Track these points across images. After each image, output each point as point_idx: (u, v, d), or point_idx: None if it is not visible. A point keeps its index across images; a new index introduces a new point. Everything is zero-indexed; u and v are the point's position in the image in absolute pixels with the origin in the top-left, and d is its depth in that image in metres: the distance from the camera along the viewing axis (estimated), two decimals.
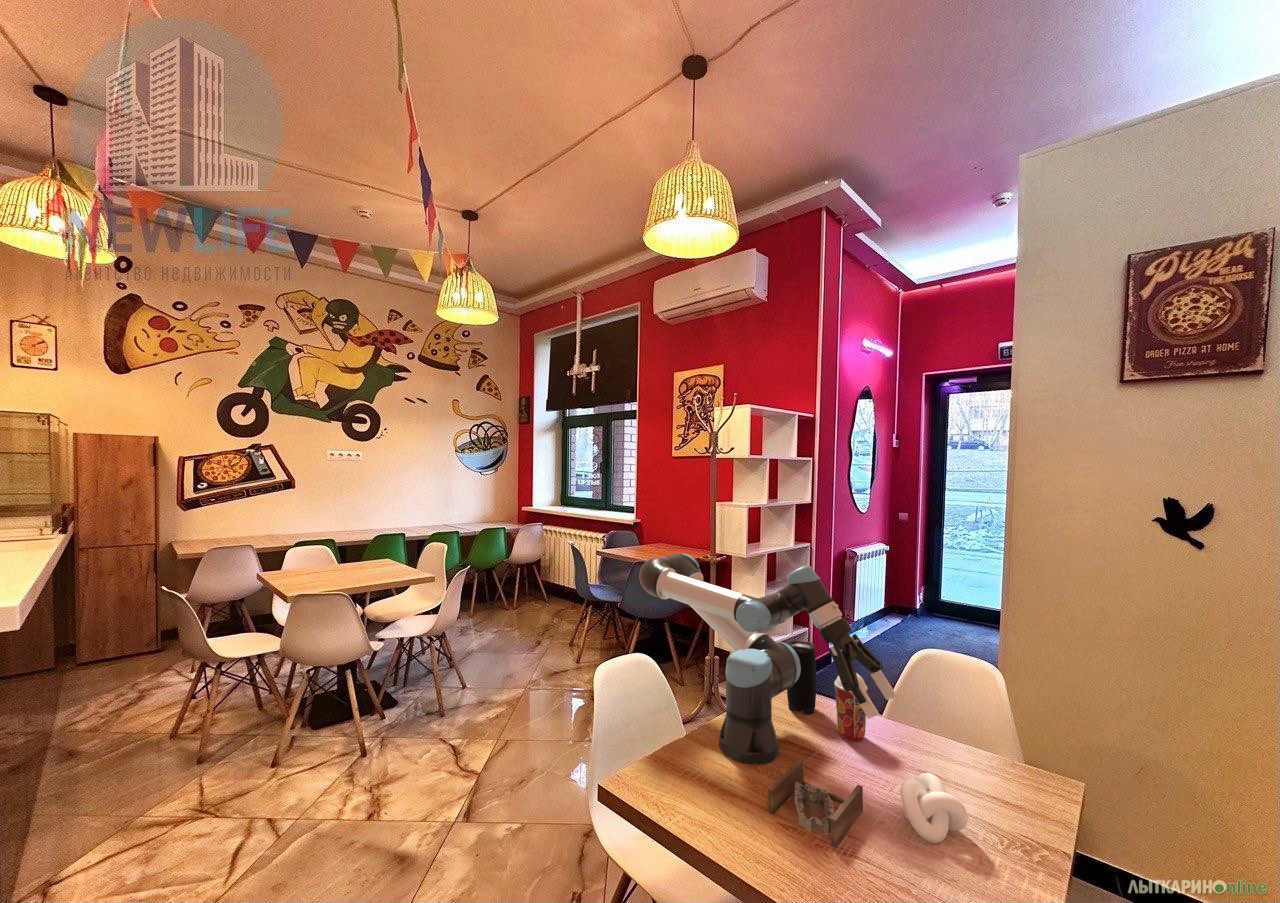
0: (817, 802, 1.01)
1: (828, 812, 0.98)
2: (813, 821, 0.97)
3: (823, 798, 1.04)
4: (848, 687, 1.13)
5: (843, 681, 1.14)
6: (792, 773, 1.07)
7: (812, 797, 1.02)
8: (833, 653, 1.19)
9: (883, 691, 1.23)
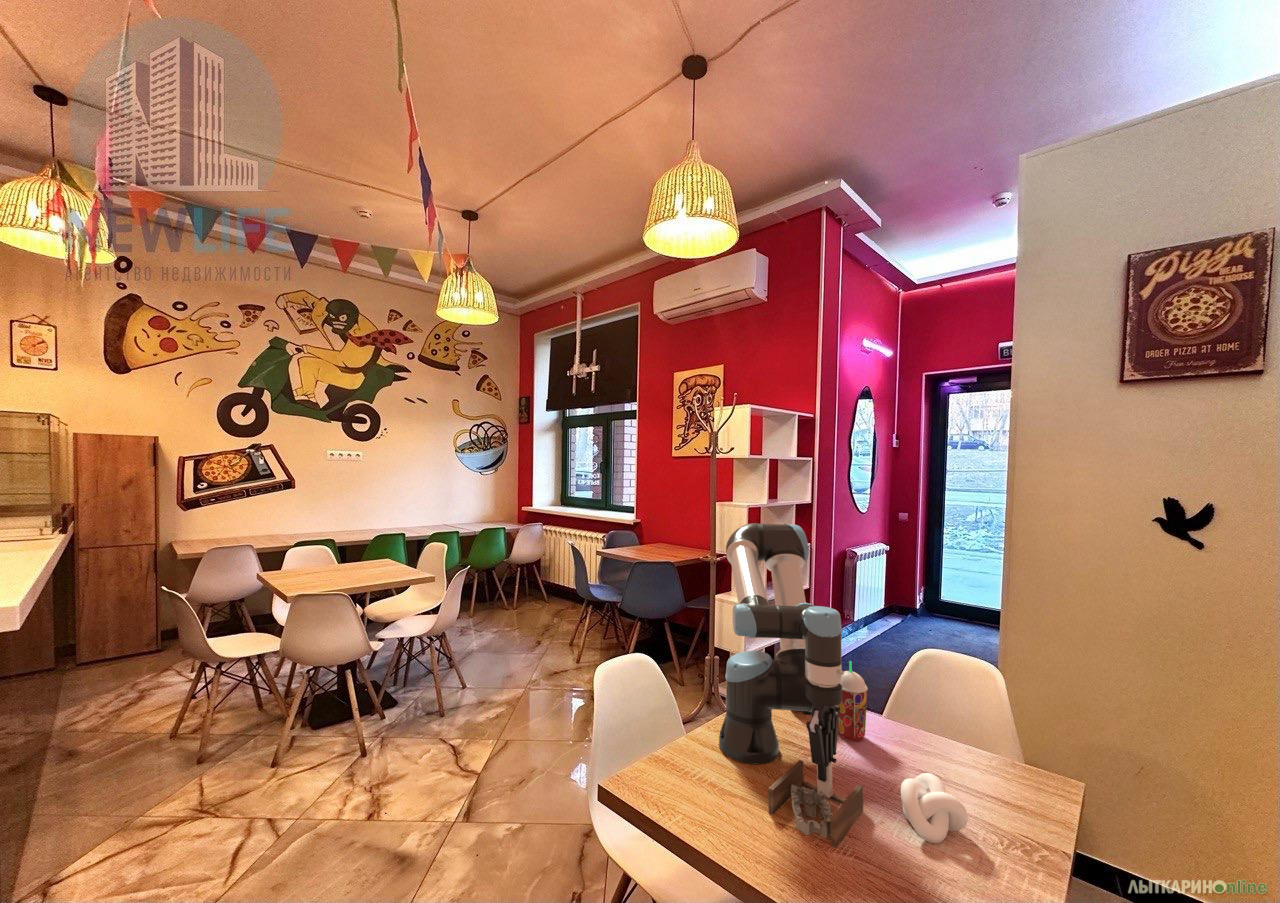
0: (814, 805, 1.00)
1: (826, 815, 0.97)
2: (811, 825, 0.96)
3: (820, 800, 1.03)
4: (818, 764, 1.03)
5: (814, 758, 1.03)
6: (792, 773, 1.07)
7: (809, 800, 1.01)
8: (811, 730, 1.02)
9: None
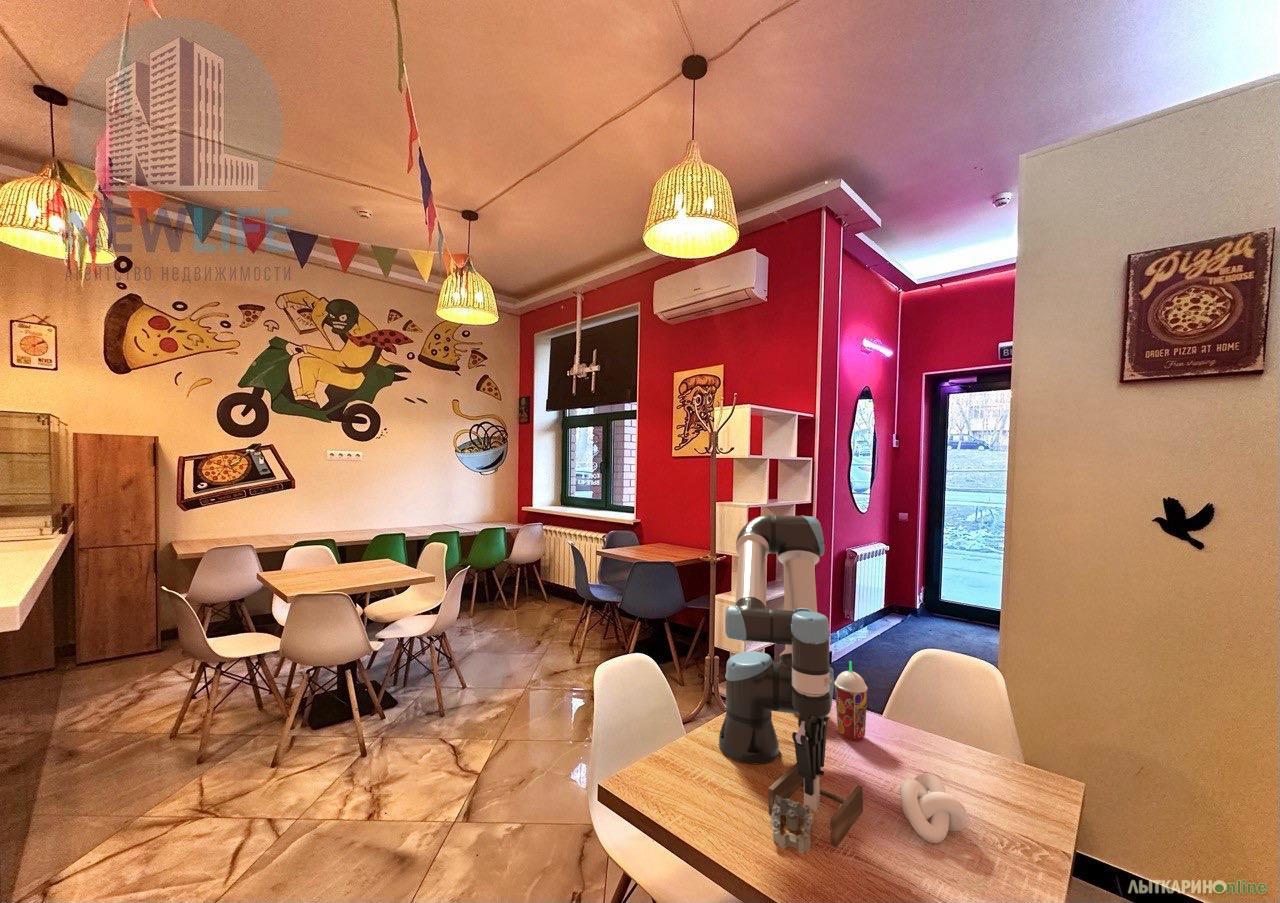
0: (795, 818, 0.96)
1: (805, 829, 0.93)
2: (788, 838, 0.92)
3: (805, 814, 0.99)
4: (804, 777, 0.98)
5: (800, 770, 0.98)
6: (792, 773, 1.07)
7: (791, 812, 0.97)
8: (797, 742, 0.97)
9: None
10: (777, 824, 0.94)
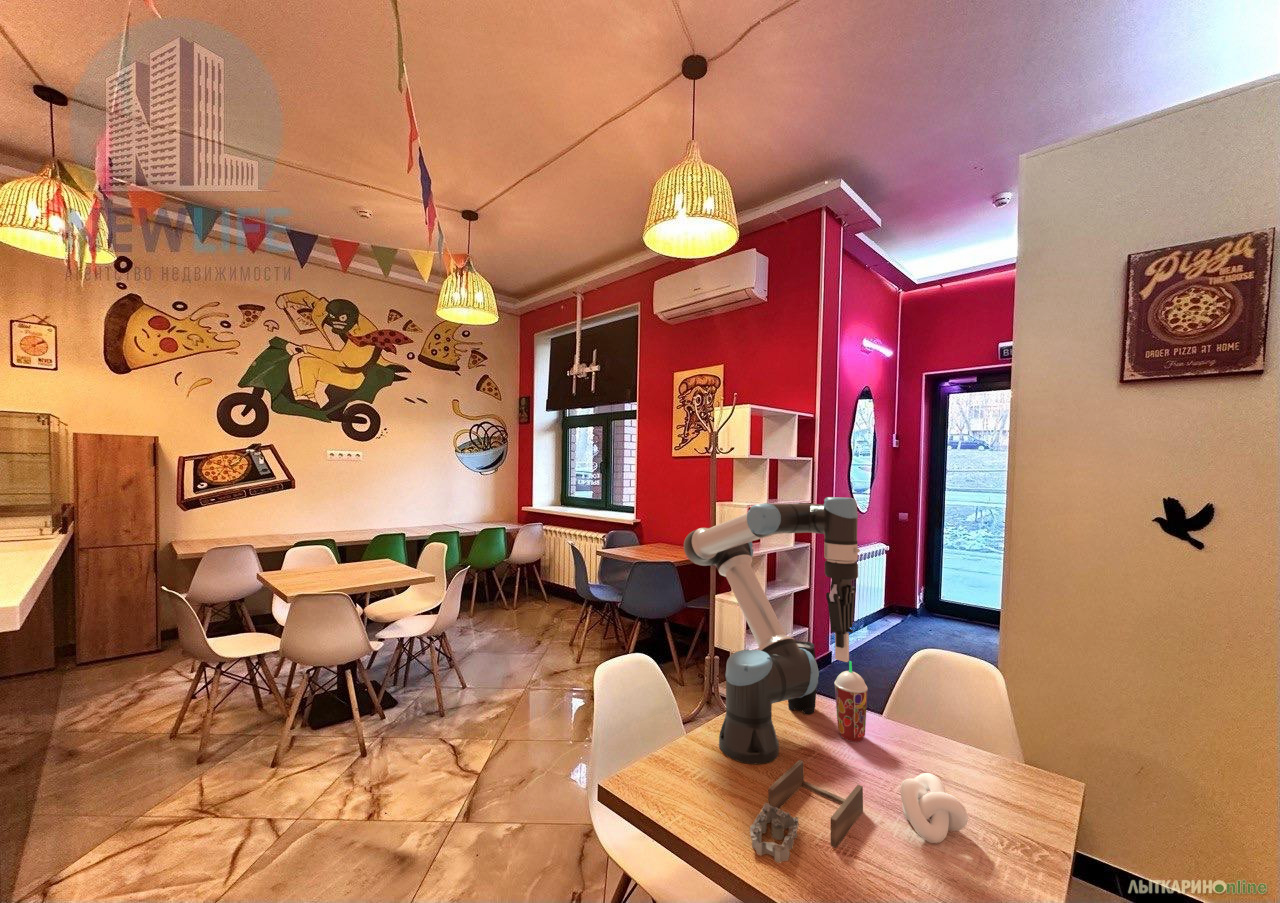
0: (780, 828, 0.94)
1: None
2: (765, 846, 0.90)
3: (793, 825, 0.96)
4: (836, 631, 1.15)
5: (833, 625, 1.15)
6: (792, 773, 1.07)
7: (776, 821, 0.95)
8: (830, 600, 1.14)
9: None
10: (757, 831, 0.93)
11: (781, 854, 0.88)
